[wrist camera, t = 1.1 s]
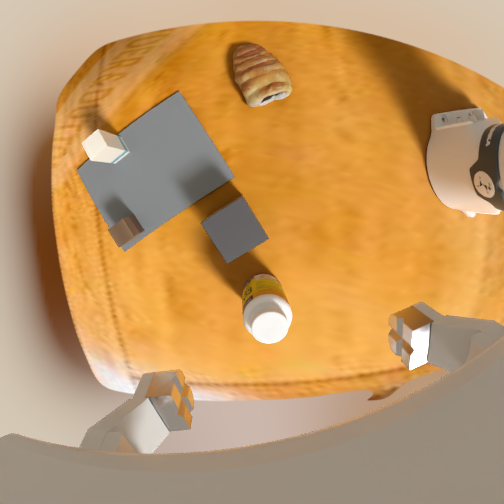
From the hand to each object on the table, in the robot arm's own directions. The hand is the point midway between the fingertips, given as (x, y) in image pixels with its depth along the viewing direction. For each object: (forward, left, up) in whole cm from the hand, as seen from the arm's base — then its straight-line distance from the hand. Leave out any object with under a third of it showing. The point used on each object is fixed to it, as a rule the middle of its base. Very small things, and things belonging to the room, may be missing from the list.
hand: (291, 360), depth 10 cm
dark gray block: (+1, -2, -27) cm, 27 cm away
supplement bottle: (+3, +8, -28) cm, 29 cm away
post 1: (+9, -19, -27) cm, 34 cm away
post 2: (+13, -9, -27) cm, 31 cm away
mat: (+7, -14, -27) cm, 32 cm away
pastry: (-12, -17, -28) cm, 35 cm away
